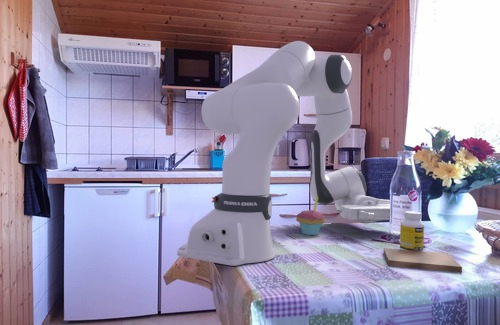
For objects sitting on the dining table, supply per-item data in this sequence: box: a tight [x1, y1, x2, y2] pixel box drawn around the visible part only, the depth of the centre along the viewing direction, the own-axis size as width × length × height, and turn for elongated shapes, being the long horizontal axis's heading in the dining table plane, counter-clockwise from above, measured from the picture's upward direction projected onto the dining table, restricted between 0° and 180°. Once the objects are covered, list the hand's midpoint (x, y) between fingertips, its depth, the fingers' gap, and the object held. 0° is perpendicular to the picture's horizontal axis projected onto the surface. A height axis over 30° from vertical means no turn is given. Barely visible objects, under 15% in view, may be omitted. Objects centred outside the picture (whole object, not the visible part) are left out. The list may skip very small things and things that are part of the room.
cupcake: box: [295, 195, 326, 236], centre depth 107 cm, size 9×8×12 cm
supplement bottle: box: [399, 210, 425, 251], centre depth 89 cm, size 5×5×10 cm
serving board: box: [383, 247, 463, 273], centre depth 79 cm, size 14×11×1 cm
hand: (386, 216), depth 101 cm, fingers open, 8 cm apart
